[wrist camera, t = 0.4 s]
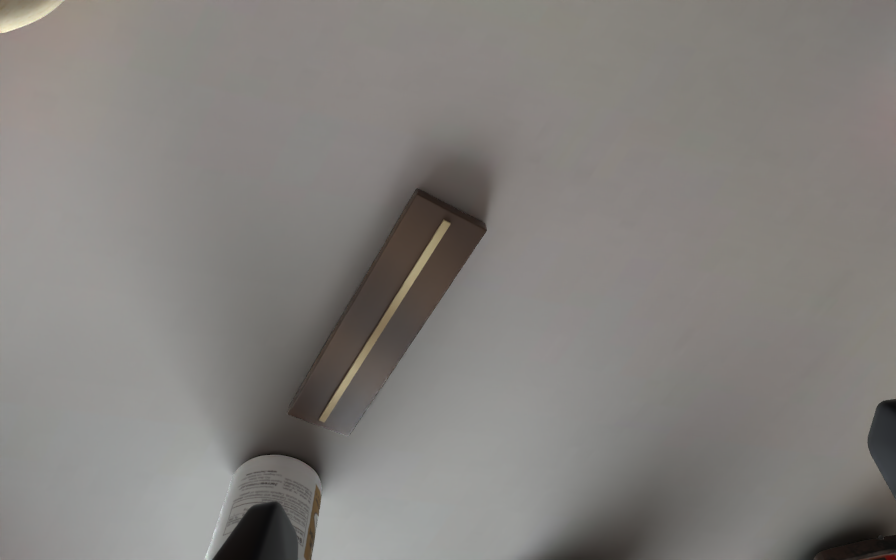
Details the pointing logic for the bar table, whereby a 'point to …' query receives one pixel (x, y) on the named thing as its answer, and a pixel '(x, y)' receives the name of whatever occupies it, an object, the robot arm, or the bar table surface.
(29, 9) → the bird rattle
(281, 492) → the pill bottle
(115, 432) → the bar table surface
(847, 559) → the toy car
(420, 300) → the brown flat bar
